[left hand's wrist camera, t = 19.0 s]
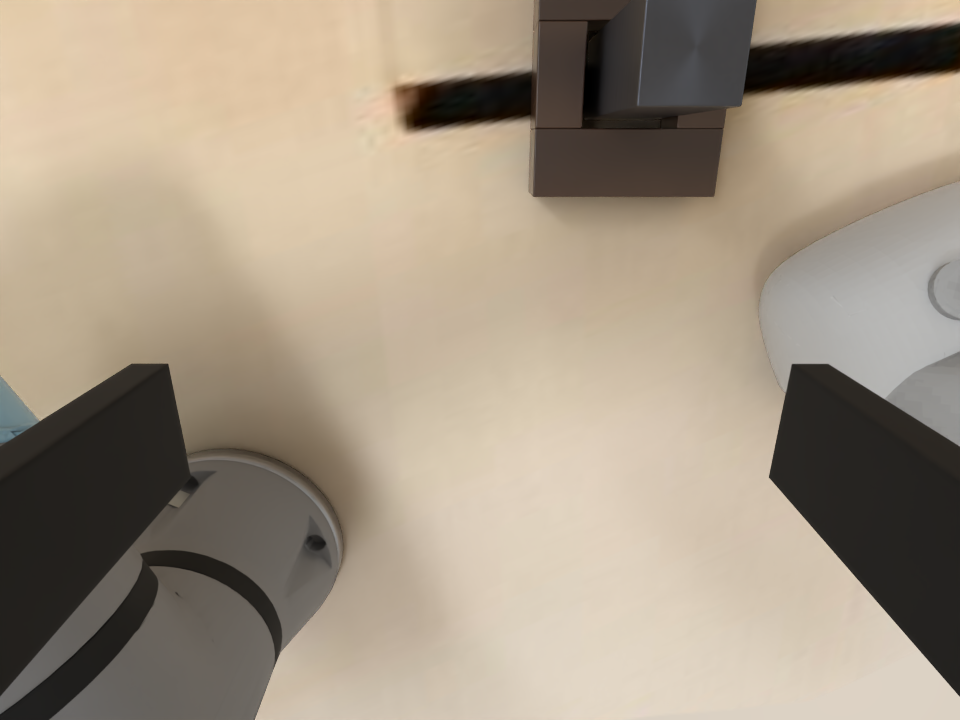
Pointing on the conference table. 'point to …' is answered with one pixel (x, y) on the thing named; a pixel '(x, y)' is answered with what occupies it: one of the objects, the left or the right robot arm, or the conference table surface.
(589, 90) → the peg
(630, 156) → the peg board
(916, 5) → the conference table surface
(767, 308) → the projector
